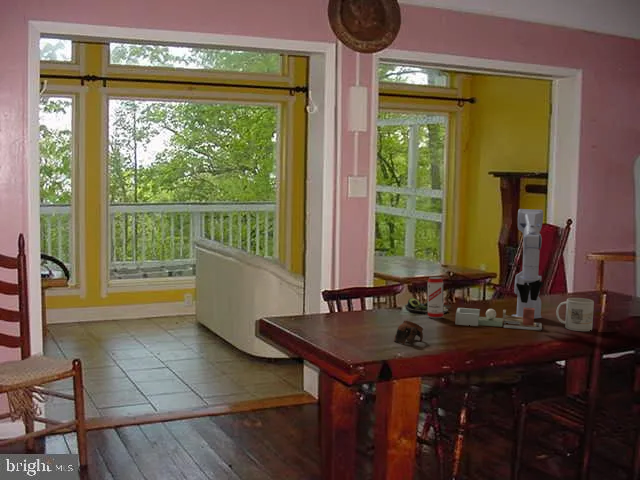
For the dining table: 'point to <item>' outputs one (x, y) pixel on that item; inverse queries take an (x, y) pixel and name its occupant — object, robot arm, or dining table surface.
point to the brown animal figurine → (408, 332)
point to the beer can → (435, 297)
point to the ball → (490, 313)
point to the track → (499, 322)
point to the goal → (467, 316)
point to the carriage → (525, 320)
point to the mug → (578, 314)
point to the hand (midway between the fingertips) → (529, 301)
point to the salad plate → (419, 307)
